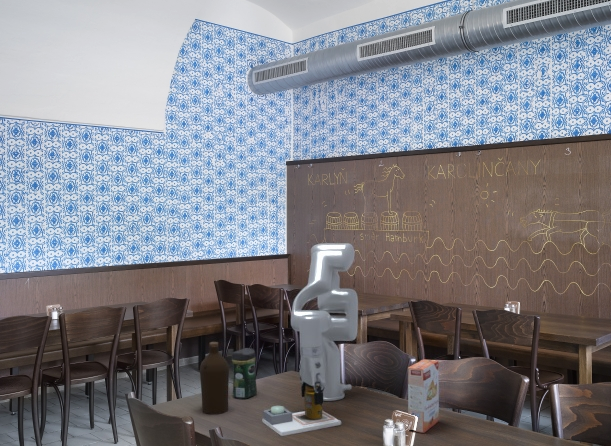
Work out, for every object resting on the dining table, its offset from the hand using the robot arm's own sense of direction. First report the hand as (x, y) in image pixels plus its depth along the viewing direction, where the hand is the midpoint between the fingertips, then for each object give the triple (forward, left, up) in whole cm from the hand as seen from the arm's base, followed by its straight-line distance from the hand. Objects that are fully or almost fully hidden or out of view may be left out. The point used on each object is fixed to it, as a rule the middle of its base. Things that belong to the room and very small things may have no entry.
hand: (312, 400), depth 215 cm
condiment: (+1, 0, -6) cm, 6 cm away
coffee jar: (+9, -41, -8) cm, 43 cm away
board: (+4, 0, -7) cm, 9 cm away
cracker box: (-30, +23, -8) cm, 39 cm away
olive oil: (+25, -29, -8) cm, 39 cm away
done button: (+11, -4, -5) cm, 13 cm away
